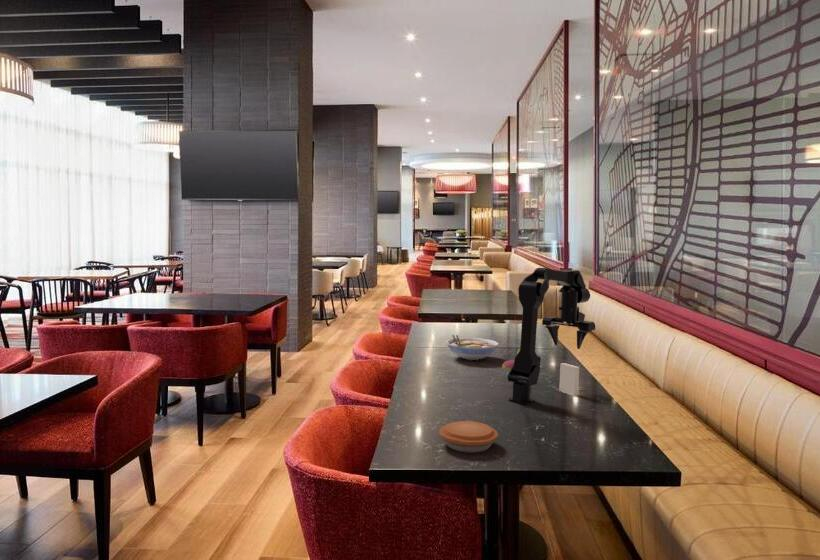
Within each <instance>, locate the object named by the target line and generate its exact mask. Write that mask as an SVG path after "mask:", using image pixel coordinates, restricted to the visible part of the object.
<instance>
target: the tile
mask: <svg viewBox="0 0 820 560" xmlns="http://www.w3.org/2000/svg"><path fill="white" fill-rule="evenodd" d="M559 368H560V370H559V387H558V388H559V389H558V391H559V392H560V391H561V393H564V394H566V393H567V395H570V396H573V397H577V395H578V396H579V384H580V383H579V382H580V380H579V379H580V367H579V366H577V365H572V364H570V363H566V362H562V363H560V367H559Z"/></svg>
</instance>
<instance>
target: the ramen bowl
mask: <svg viewBox="0 0 820 560" xmlns="http://www.w3.org/2000/svg"><path fill="white" fill-rule="evenodd" d="M455 336H456V337H455ZM445 342H446V345H447V346H448V348H449V350H450V351H451V352H452V353H453V354H454V355H456V356H458V357H460V358H462V359H463V360H465V359H466V361H472V360H476V361H479V359H480V360H482V359H484V358H486V357H490V356H491V355H492V354H493V353H494V352H495V350H496V349H497V348H498V345H499V342H497V341H495V340H492V339H487V338H481V337H479V338H478V337H459V334H456V335H454V334H452V338H450V339H447V340H446V341H445Z"/></svg>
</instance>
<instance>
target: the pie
mask: <svg viewBox="0 0 820 560" xmlns="http://www.w3.org/2000/svg"><path fill="white" fill-rule="evenodd" d="M438 433H439V436H440V437H442V439H443V441H444V442H445V444H446V446H447V447H448V448H449V449H451V450H453V451H457V452H462V453H467V454H468V453H470V454H471V453H472V454H473V453H481V452H485V451H487V450H488V449H490V448H491V446H492V445H493V443H494V442H495V441H496V440H497V438H498V437H499V433H498V431H497V430H496V429H494V428H493V427H491V426H490V425H488V424H486V423H481V422H477V421H471V420H470V421H469V420H460V421H453V422H450V423H447V424H444V425H443V426H441V427H440V429H439V430H438Z"/></svg>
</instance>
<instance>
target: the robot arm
mask: <svg viewBox="0 0 820 560" xmlns="http://www.w3.org/2000/svg"><path fill="white" fill-rule="evenodd" d="M538 280H542V282H540V281H539V282H538ZM550 281H555V282H557V284H559V285H561V286H562V287H561V288H560V289H559V290H558V292H559V293H560V294H561V295H560V297H561V298H560V306H559V307H558V310H559V311H560V317H558V316H553V315H552V316H551V315H549V316H544V317H542V319H541V324H542V326H544V327H545V328H546V329H547V331H548V333H549V335H550V337H551V339H552V342H553V344H554V346H558V341H559V338H558V337H559V335H558V334H559V329H560V326H565V327H566V326H567V327H572V328H573V327H574V328H577V329H578V330H577V331H576V348H577V350H580V349H581V347H582V344H583V342H584V339H585V338H586V336H587V334H588V333H591V332H592V331H595V330H596V324H595V322H594V321H588V320H585V318H586V314H585V313H583V312H581V311H580V307H579V306H578V304H580V303H581V304H582V303H586V302H588V301H589V300H590V299H591V293H590V291H589V289H588V288H587V287H586V285H587V284H585V280H584V278H583V275H582V273H581V271H580V270H576V269H575V270H574V269H559V270H556V269H552V268H549V267H536V268H535V269H534V271H532V273H530V274H528V275H527V276H525V277H524V278H523V279H522V281H521V282H520V284H519V285H518V288H517V289H518V301H519V303H520V305H521V307H522V317H521V330H520V331H521V332H520V344H519V345H520V347H519V348H520V349H519V350H520V351H519V353H518V352H517V353H518V354H516V356H515V357H514V359H513V360H514V365H513V366H512V368H511V370H510V372H509V374H508V375H506V378H507V381H508V382H511V383H512V397H509V398H508V401H511V402H515V403H518V404H522V405H525V404H526V405H527V404H529V403H532V402H535V401H536V399H535V398H533V397H532V389H533V388H532V386H535V385H537V384H538V380H539V375H540V371H541V362H542V361H541V360H542V359H541V356H538V355H537V353H536V344H537V343H536V341H537V327H538V314H539V308H540V307H541V306H542V304H543V302H544V299H545V295H546V293H547V291H548V290H549V288H550ZM518 376H520V377H518Z"/></svg>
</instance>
